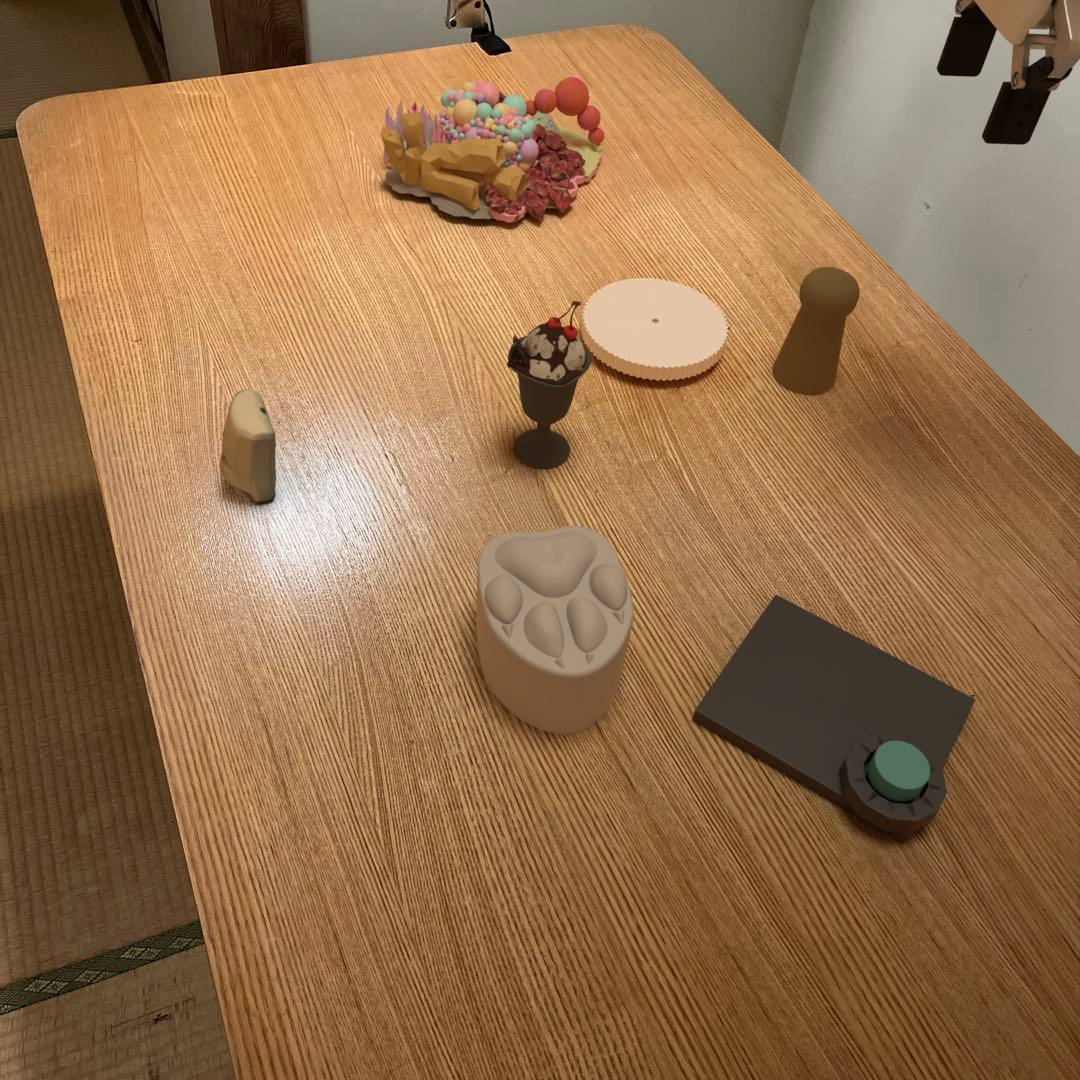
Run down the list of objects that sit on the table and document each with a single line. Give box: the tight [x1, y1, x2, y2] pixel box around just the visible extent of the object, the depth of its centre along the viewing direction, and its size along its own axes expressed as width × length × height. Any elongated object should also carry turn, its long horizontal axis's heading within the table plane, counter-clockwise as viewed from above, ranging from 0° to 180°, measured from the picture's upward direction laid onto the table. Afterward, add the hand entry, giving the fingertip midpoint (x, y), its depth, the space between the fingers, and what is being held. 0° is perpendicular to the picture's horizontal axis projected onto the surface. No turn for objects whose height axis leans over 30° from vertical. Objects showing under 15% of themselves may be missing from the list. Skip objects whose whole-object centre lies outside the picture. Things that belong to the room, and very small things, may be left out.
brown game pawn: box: [772, 266, 860, 396], centre depth 99 cm, size 6×6×11 cm
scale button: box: [867, 741, 930, 802], centre depth 70 cm, size 4×4×2 cm
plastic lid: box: [580, 277, 729, 382], centre depth 104 cm, size 14×14×2 cm
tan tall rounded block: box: [219, 388, 277, 506], centre depth 86 cm, size 6×5×8 cm
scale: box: [691, 594, 976, 845], centre depth 76 cm, size 17×14×3 cm
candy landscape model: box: [380, 76, 605, 224], centre depth 121 cm, size 25×24×9 cm
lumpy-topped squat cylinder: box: [475, 525, 635, 735], centre depth 76 cm, size 10×13×9 cm
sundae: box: [506, 300, 592, 469], centre depth 88 cm, size 7×7×15 cm
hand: (979, 106), depth 76 cm, fingers open, 9 cm apart
